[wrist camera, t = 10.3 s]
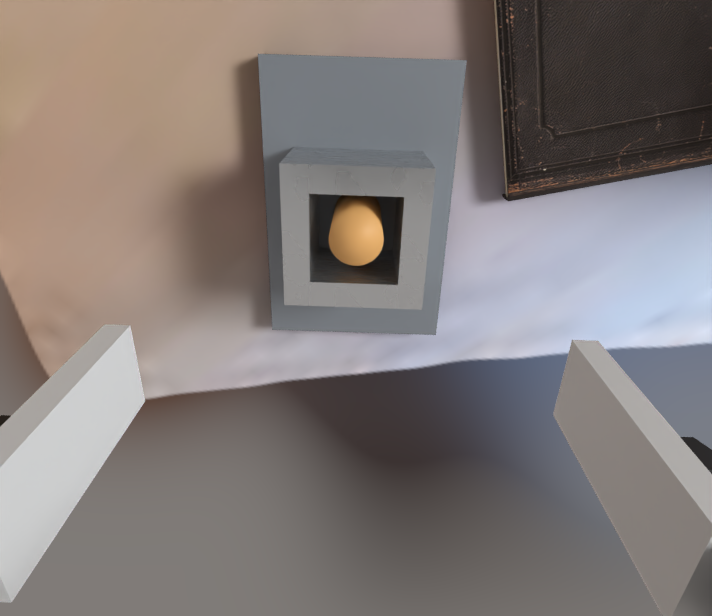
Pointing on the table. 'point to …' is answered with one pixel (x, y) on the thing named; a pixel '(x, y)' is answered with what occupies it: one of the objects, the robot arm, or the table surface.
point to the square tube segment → (362, 178)
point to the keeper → (360, 131)
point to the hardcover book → (602, 91)
